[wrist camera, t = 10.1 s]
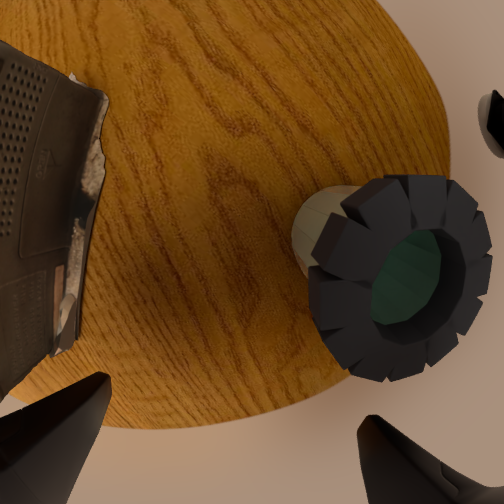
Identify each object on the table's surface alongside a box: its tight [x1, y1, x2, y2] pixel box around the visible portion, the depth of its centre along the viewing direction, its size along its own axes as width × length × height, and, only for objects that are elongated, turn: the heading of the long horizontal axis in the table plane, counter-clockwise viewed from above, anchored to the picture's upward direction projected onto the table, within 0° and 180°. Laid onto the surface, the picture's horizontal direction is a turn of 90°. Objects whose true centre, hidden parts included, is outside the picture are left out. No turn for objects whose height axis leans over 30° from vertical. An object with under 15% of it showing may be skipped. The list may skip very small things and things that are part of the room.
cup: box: [291, 185, 441, 325], centre depth 16 cm, size 7×7×9 cm
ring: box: [308, 175, 492, 382], centre depth 10 cm, size 9×9×2 cm
